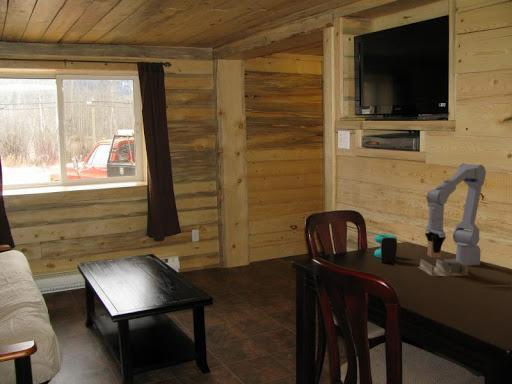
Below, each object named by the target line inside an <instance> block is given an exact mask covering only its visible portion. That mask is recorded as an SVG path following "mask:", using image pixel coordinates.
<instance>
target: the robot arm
mask: <svg viewBox="0 0 512 384" xmlns="http://www.w3.org/2000/svg"><path fill="white" fill-rule="evenodd" d="M456 170H457V171H456V172H455V173H454V175H453V176H452V177H450V178H449V179H444V180H442V182H441V183H440V184H439V185H437V187H436V188H433V189H430V190H429V191H428V192H427V194H426V201H427V207H428V226H427V225H426V226H425V231H426V232H425V233H424V235H425V237H426V239H427V242H428V241H433V250H434V253H440V250H441V251H442V246H443V243H444V242H445V240H446V238H447V236H446V232H445V231H444V210H445V205H446V204H447V201H448V199H449V197H450V195H451V194H452V193H454V192H455V191H456V189H457V186H458V185H459V184H460V183H462V182H463V183H464V184H466V185H467V187H468V189H467V193H466V199H465V204H464V207H463V208H464V209H463V214H462V220H461V222H459V223H458V224H456V225H455V229H454V230H453V233H452V240H453V242H454V243H455V245H456V251H455V252H456V254H455V255H456V256H455V259H456V260H458V261H459V262H461V263H463V264H465V265H467V266H480V265H481V248H480V246H479V245H478V243H479V241H480V229H479V227H478V226H477V225H476V223H475V222H476V218H477V212H478V209H479V203H480V197H481V193H482V188H483V186H484V184H485V181H486V174H487V170H486V168H485V167H484V165H483V164H470V163H469V164H468V163H461V164H460V165H459V166H457V169H456Z"/></svg>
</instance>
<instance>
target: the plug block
mask: <svg viewBox="0 0 512 384" xmlns="http://www.w3.org/2000/svg"><path fill="white" fill-rule="evenodd" d="M426 253H427V254H426V255H427V256H428V257H430V258H442V255H441V254H442V249H441V250H440V253H434V250H433V241H428V240H427V252H426Z"/></svg>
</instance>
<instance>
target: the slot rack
mask: <svg viewBox="0 0 512 384" xmlns="http://www.w3.org/2000/svg"><path fill="white" fill-rule="evenodd" d="M452 259H453V260H455V261H457V262H459V261H458V260H456V258H452ZM435 263H436V264H435V266H434V265H432V264H431V263H430V262H427V261H426V260H425V259H420V261H419V266H418V269H420V270H421V271H423V272H425V273H426V274H428V275H429V276H430V277H441V276H442V277H443V276H446V277H447V276H448V277H449V276H453V277H454V276H470V274H469V273H468V272H469V271H468V270H469V269H468V268H469V265H465V264H463V263H461V262H459V263H460V273H451V266H450V265H448V264H446V263H444V262H443V261H442V260H440V259H438V258H437V259H436V261H435Z"/></svg>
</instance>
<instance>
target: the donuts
mask: <svg viewBox="0 0 512 384" xmlns="http://www.w3.org/2000/svg"><path fill="white" fill-rule="evenodd" d="M383 237H394V238H396V240H397V241H398V237H396V236H395V235H394V234H386V233H385V234H384V233H381V234H377V235H375V236H374V241H375V242H376V243H377V244H380V245H381V239H382V238H383ZM373 255H374V256H375V257H376V258H378V259H381V247H380V248H378V249H376V250H374V254H373Z"/></svg>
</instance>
